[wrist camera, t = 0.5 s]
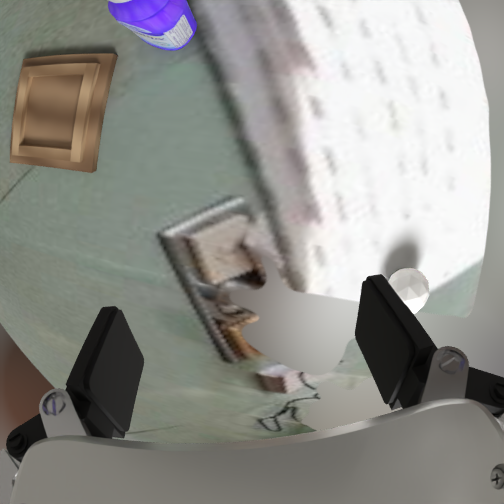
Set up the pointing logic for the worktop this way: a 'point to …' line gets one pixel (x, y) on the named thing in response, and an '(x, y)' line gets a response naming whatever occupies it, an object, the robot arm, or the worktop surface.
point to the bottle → (156, 21)
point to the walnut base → (61, 110)
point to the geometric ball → (410, 287)
